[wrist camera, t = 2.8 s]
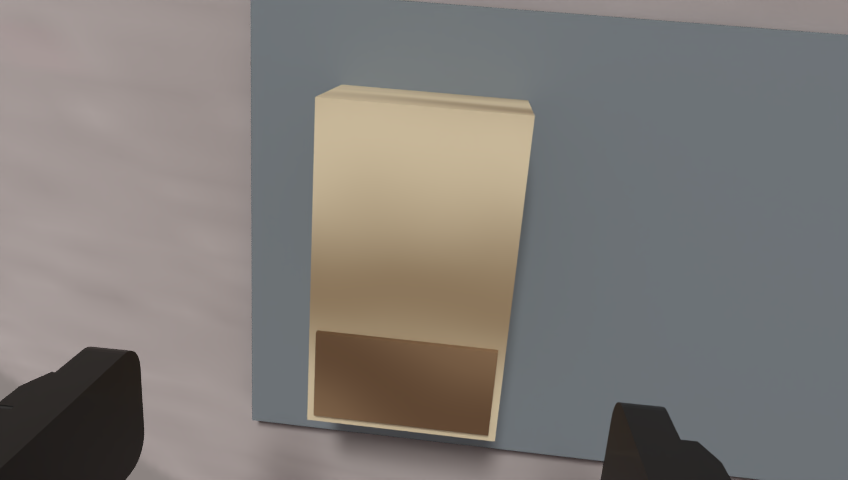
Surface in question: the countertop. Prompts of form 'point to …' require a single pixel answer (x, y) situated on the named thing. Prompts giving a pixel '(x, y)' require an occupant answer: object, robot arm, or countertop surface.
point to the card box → (414, 257)
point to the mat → (601, 219)
